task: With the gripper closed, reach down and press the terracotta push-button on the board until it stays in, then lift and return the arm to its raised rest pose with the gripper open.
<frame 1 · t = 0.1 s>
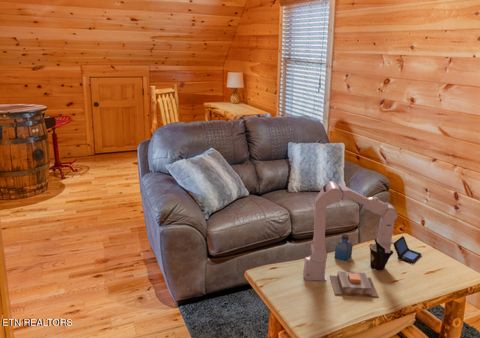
hand: (381, 259, 180), 10 cm above the table, fingers open, 7 cm apart
button: (354, 279, 176), point 4 cm above the table, slide at 0.0 cm
button board: (353, 286, 177), on the table
handheld game console: (406, 256, 204), on the table
perfume bottle: (342, 257, 201), on the table
coffee mug: (376, 265, 194), on the table
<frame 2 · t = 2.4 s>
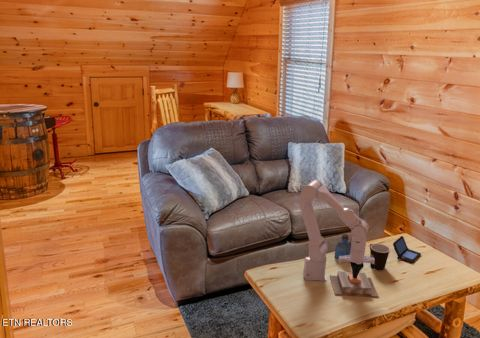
hand: (354, 276, 175), 5 cm above the table, fingers closed, pressing on button
button: (354, 279, 176), point 3 cm above the table, slide at 0.2 cm, touching gripper
everything else where it was.
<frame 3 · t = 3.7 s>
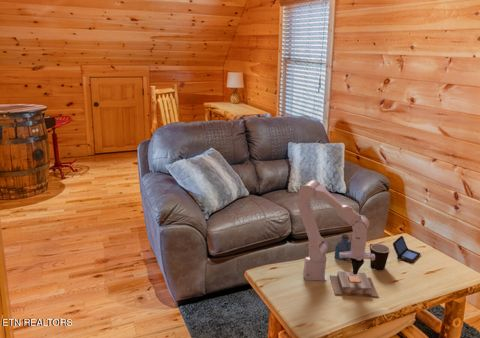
hand: (354, 273, 175), 7 cm above the table, fingers closed
button: (353, 281, 176), point 2 cm above the table, slide at 1.1 cm
everything else where it was.
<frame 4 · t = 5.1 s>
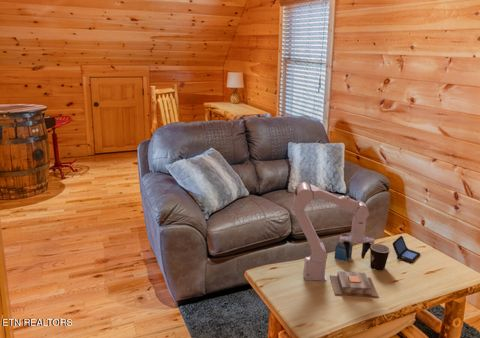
hand: (354, 257, 180), 10 cm above the table, fingers open, 6 cm apart
nothing on the table moved.
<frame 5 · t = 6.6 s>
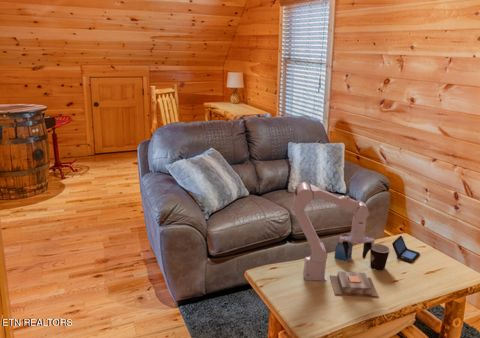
hand: (354, 257, 180), 10 cm above the table, fingers open, 7 cm apart
nothing on the table moved.
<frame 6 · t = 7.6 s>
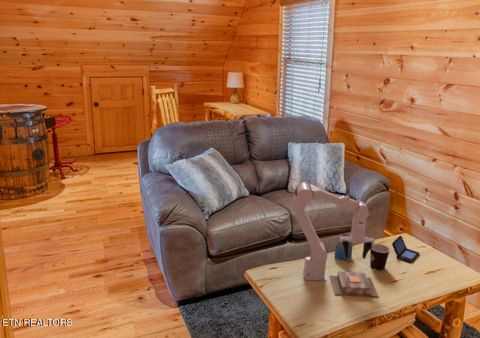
hand: (354, 257, 180), 10 cm above the table, fingers open, 7 cm apart
nothing on the table moved.
at the end: button slide at 1.1 cm; coffee mug moved 0.2 cm from its start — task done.
